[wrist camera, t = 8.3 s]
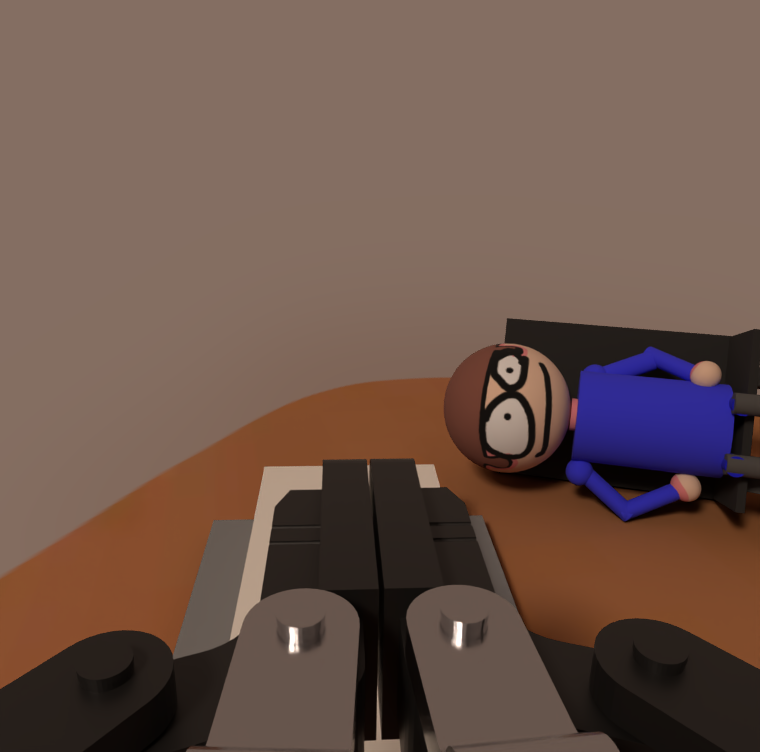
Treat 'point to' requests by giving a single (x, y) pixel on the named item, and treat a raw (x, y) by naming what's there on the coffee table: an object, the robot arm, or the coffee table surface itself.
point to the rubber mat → (224, 576)
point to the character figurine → (614, 411)
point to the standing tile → (270, 494)
